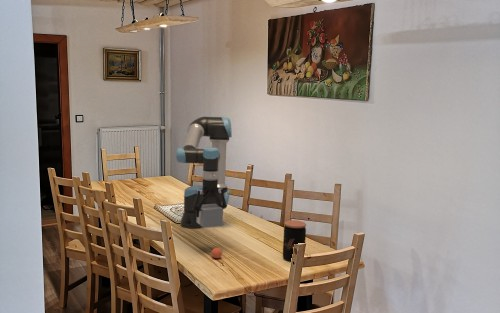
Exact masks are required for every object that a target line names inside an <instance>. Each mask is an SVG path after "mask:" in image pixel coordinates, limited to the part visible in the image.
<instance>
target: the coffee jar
mask: <svg viewBox="0 0 500 313" xmlns="http://www.w3.org/2000/svg"><path fill="white" fill-rule="evenodd" d="M283 225H284V226H283V240H282V241H283V242H282V243H283V244H282V258H283V260H285V261H286V262H289V263H292V262H291V258H292V254H293V247H294V244H298V243H305V244H306V238H307V237H306V233H307V228H306V227H307V222H305V221H302V220H295V219H291V220H285V221H284V222H283Z"/></svg>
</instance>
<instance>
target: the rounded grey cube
mask: <svg viewBox="0 0 500 313" xmlns="http://www.w3.org/2000/svg"><path fill="white" fill-rule="evenodd" d="M200 211H201V224H199V225H201V226H202V227H201V228H202V229H204V228H211V227H223V222H224V220H223V218H224V217H223V216H224V209H223V208H221V207H220V206H218V205H217V204H204V205H202V207H201V208H200ZM196 222H197V217H196Z"/></svg>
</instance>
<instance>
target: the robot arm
mask: <svg viewBox="0 0 500 313" xmlns="http://www.w3.org/2000/svg"><path fill="white" fill-rule="evenodd" d="M186 131H187V136H186V138H185V141H184V144H183V146H182V147H178V148H177V150H176V156H175V157H176V162H177V163H182V164H201V165H202V185H201V184H200V185H198V184H197V185H192V186H187V187H185V189H184V194H183V197H184V198H183V214H182V217H181V220H180V226H181V227H183V228H187V229H200V228H203V227H202V226H201V225H199V224H201V211H200V208H201V207H202V205H204V204H217V205H218V206H220V207H221V208H223V210H224V209H227V208H228V204H229V198H230V192H231V190H230V189H228V185H227V184H226V167H227V166H226V165H227V163H226V162H227V161H226V160H227V143H228V142H230V138H232V137H233V134H232V132H233V131H232V123H231V120H230V118H229V117H224V116H201V117H197V118H196V119H194V120H193V121H192V122H190V124H188V127H187V130H186ZM203 137H209V139H208V140H209V141H210V142H211V147H204V148H199V145H200V142H201V138H203ZM196 217H197V222H196Z"/></svg>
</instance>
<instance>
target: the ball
mask: <svg viewBox="0 0 500 313" xmlns="http://www.w3.org/2000/svg"><path fill="white" fill-rule="evenodd" d="M211 256H212V257H213V258H214V259H219V258H221V257H222V256H223V250H222V249H221V248H220V247H215V248H213V249H212V251H211Z"/></svg>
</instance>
